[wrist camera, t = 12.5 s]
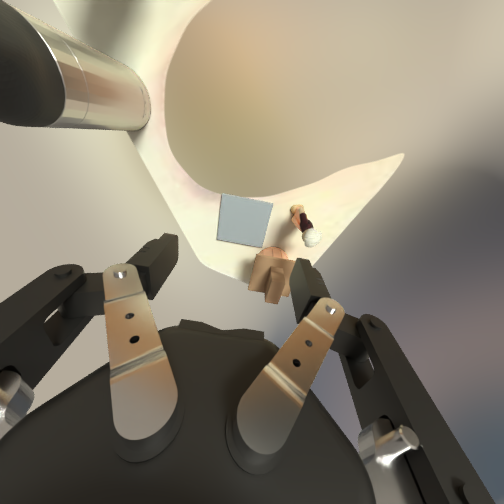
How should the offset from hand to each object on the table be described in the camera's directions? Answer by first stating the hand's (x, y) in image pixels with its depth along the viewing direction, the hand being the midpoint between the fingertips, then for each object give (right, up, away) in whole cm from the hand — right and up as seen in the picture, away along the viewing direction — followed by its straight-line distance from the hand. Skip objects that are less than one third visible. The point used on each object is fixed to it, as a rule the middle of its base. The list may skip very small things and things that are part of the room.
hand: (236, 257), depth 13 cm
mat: (-1, +7, +31) cm, 32 cm away
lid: (+6, -5, +31) cm, 32 cm away
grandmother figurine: (+12, +9, +30) cm, 33 cm away
